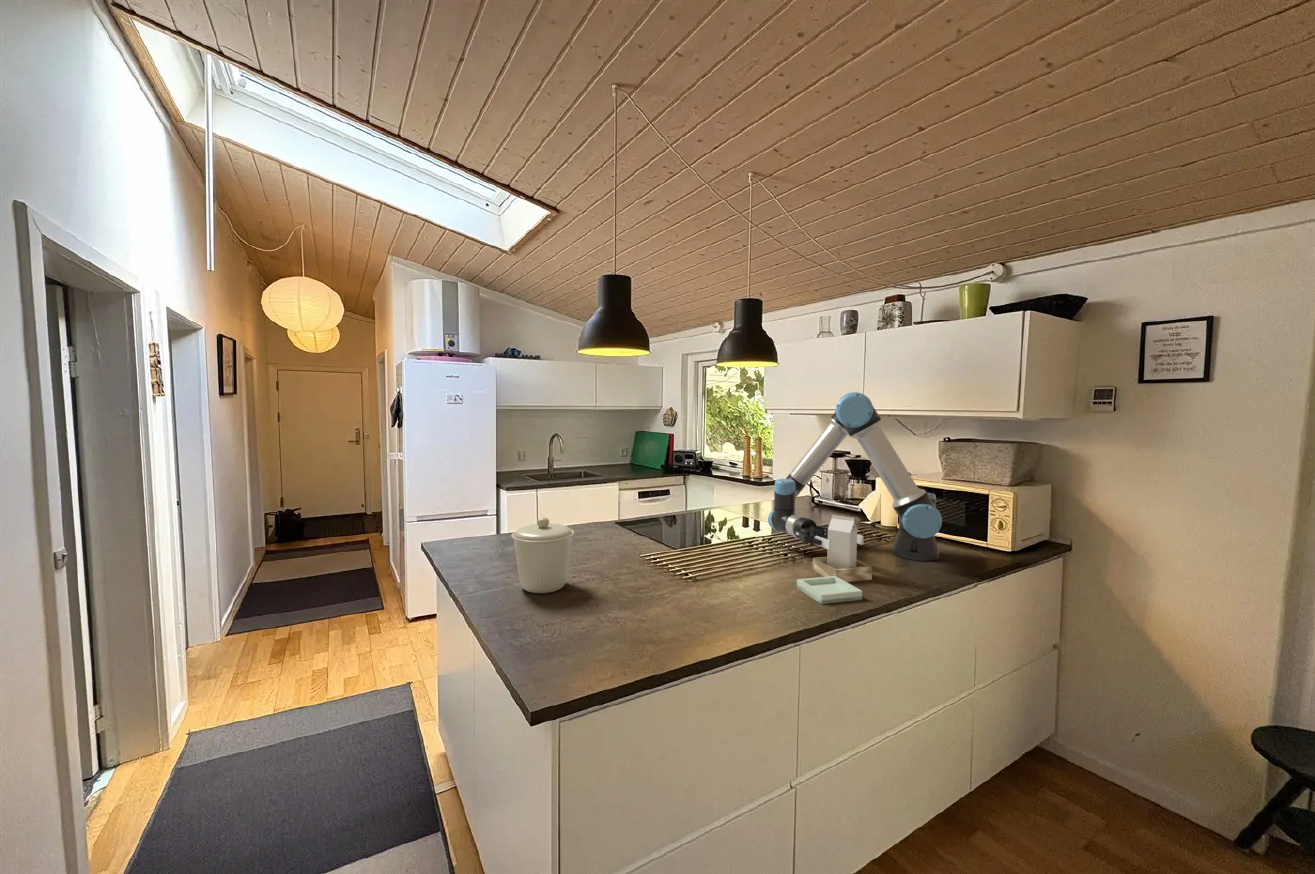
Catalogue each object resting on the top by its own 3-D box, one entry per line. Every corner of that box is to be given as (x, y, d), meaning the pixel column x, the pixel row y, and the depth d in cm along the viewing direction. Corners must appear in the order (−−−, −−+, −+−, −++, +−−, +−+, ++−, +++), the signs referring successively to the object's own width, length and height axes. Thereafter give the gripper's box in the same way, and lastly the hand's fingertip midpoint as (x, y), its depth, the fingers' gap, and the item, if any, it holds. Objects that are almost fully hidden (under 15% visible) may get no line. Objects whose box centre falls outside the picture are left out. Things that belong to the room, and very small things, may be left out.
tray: (834, 583, 161) (835, 575, 161) (862, 599, 149) (862, 590, 148) (796, 587, 158) (797, 579, 158) (821, 604, 145) (821, 595, 145)
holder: (846, 566, 178) (846, 555, 177) (871, 579, 165) (872, 566, 165) (812, 569, 174) (812, 557, 174) (835, 583, 162) (835, 570, 162)
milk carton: (849, 579, 165) (850, 519, 163) (826, 575, 169) (828, 516, 168) (855, 573, 170) (857, 515, 169) (834, 569, 175) (835, 512, 173)
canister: (560, 601, 146) (560, 526, 145) (500, 596, 150) (499, 523, 148) (583, 579, 164) (582, 512, 162) (528, 575, 168) (527, 509, 166)
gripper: (828, 534, 192) (875, 549, 173) (772, 542, 181) (815, 559, 162) (829, 514, 191) (875, 527, 172) (773, 520, 181) (816, 535, 161)
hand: (846, 542), depth 167 cm, fingers open, 13 cm apart
